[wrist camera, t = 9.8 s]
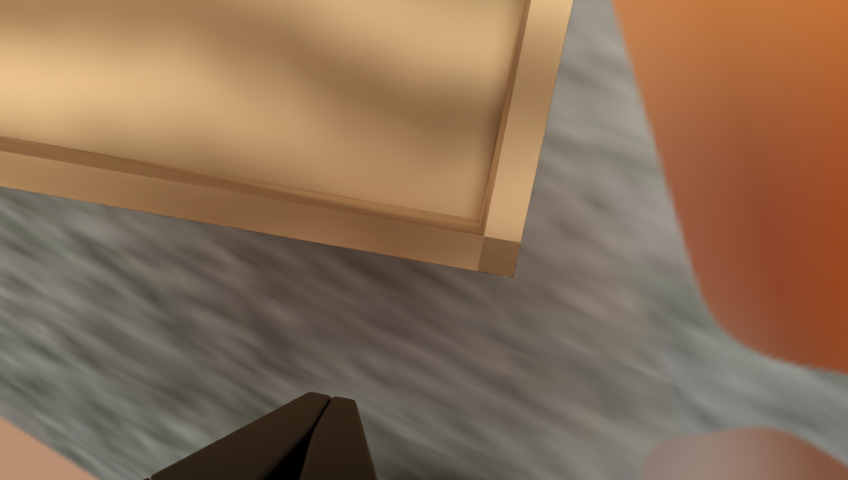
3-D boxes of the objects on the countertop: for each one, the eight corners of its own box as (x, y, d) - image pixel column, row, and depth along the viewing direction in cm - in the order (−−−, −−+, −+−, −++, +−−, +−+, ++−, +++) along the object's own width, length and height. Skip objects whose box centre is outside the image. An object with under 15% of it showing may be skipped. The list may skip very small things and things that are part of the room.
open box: (501, 249, 20) (512, 277, 16) (-15, 158, 21) (-125, 163, 17) (568, -73, 17) (602, -132, 14) (-26, -169, 18) (-159, -253, 14)
